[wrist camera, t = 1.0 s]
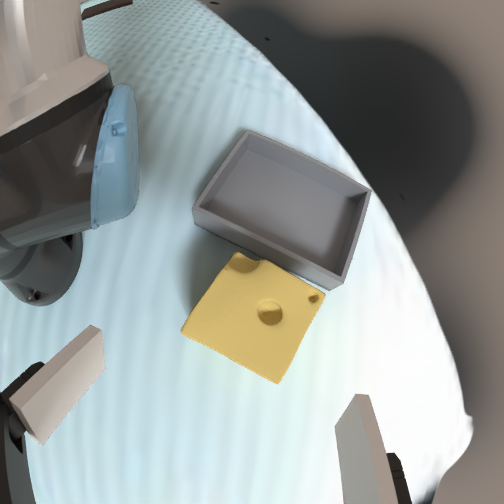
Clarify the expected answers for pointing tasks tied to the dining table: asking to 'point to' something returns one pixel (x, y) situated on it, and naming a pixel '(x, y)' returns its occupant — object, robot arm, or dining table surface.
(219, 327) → the cheese
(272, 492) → the dining table surface
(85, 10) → the hardcover book
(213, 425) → the dining table surface
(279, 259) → the bin
